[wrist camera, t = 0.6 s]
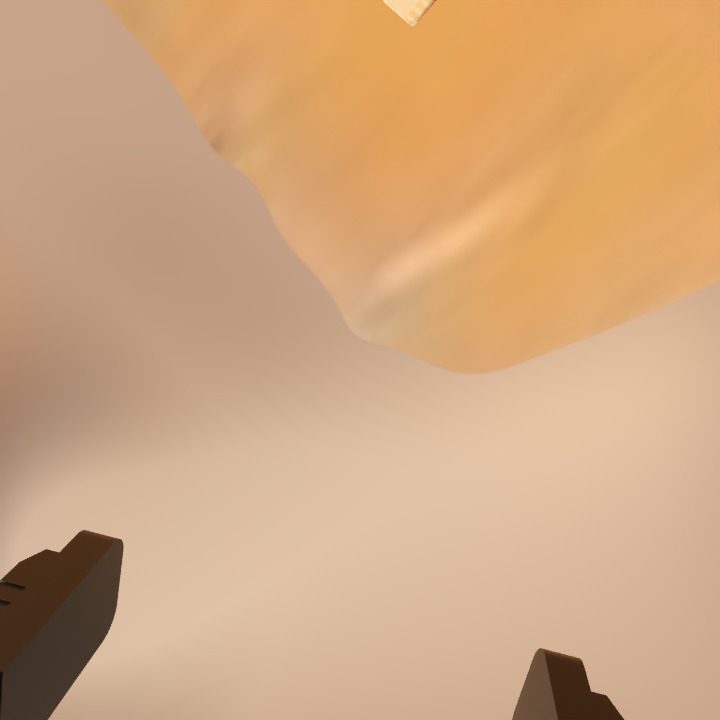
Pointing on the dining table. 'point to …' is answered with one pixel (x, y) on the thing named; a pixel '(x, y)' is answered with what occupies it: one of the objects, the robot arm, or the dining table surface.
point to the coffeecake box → (410, 9)
